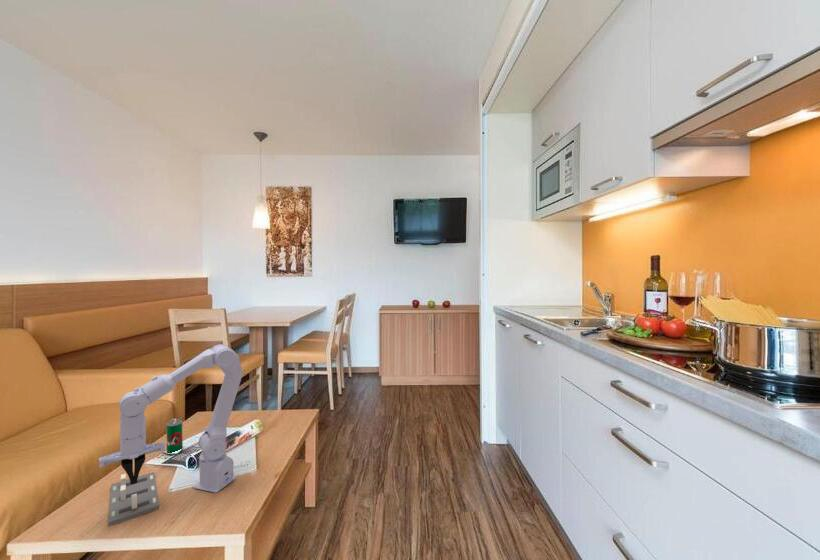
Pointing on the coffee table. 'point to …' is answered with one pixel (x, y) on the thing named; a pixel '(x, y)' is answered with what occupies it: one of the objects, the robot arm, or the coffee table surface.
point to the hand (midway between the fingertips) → (133, 482)
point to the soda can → (174, 435)
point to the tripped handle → (134, 501)
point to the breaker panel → (123, 499)
